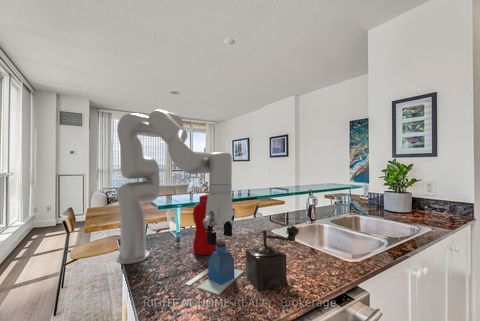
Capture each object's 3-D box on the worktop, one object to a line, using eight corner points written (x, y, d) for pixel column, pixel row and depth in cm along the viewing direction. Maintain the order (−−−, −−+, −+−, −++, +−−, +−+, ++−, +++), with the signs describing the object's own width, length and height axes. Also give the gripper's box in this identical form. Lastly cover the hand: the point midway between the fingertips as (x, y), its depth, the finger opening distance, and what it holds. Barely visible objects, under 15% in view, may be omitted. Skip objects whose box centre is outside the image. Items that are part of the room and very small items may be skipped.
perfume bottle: (222, 272, 80) (221, 238, 80) (234, 277, 76) (233, 241, 76) (208, 278, 76) (207, 242, 76) (220, 285, 71) (220, 247, 72)
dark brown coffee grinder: (259, 293, 67) (258, 232, 68) (245, 276, 78) (244, 223, 78) (302, 282, 73) (301, 226, 73) (283, 268, 83) (282, 219, 84)
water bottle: (200, 246, 107) (199, 193, 108) (219, 249, 102) (218, 194, 103) (187, 252, 99) (186, 195, 100) (207, 257, 94) (206, 197, 94)
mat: (197, 288, 71) (197, 287, 71) (224, 267, 85) (224, 266, 85) (218, 295, 67) (218, 293, 67) (243, 272, 81) (243, 270, 81)
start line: (185, 284, 73) (185, 283, 73) (213, 264, 87) (213, 264, 87) (189, 285, 72) (189, 285, 72) (218, 265, 86) (218, 265, 86)
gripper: (224, 186, 86) (224, 231, 85) (194, 191, 70) (194, 246, 70) (242, 187, 82) (242, 234, 82) (214, 192, 67) (214, 250, 67)
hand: (220, 239), depth 76 cm, fingers open, 9 cm apart
